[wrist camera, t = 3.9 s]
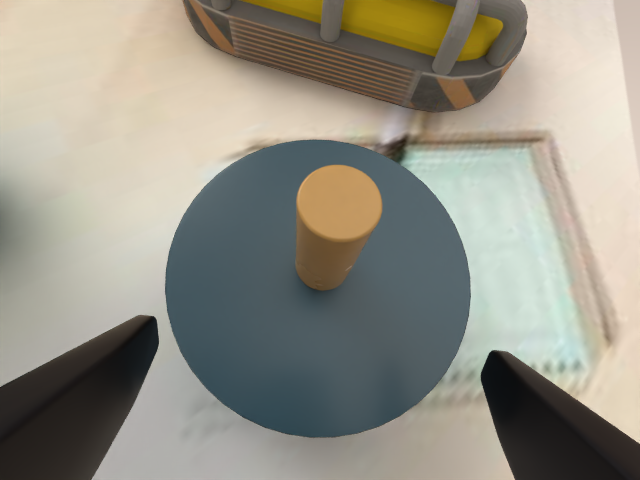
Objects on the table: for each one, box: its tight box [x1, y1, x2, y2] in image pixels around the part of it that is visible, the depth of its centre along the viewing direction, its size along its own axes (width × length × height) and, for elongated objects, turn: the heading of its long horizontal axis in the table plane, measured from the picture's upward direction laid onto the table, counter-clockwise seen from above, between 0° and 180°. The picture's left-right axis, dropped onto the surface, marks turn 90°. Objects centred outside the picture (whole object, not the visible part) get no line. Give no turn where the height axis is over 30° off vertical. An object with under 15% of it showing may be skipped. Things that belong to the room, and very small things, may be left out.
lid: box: [165, 140, 471, 438], centre depth 12 cm, size 13×13×7 cm
